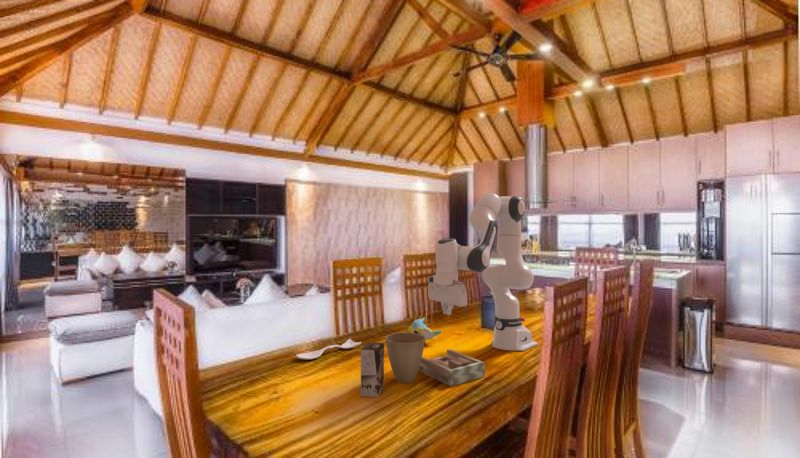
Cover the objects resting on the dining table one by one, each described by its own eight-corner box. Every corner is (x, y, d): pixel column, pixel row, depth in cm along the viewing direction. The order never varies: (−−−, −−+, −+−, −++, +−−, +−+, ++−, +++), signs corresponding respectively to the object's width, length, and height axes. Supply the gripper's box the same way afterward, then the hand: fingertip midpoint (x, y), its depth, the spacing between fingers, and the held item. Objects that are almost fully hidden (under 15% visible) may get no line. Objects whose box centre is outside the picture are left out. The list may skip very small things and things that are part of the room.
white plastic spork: (362, 348, 198) (361, 341, 198) (303, 364, 175) (303, 356, 175) (350, 344, 204) (350, 337, 204) (292, 359, 182) (292, 351, 182)
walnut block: (460, 367, 162) (460, 357, 162) (470, 371, 157) (470, 361, 157) (448, 370, 159) (448, 360, 159) (458, 375, 154) (458, 364, 154)
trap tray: (447, 361, 177) (447, 348, 177) (484, 376, 159) (484, 362, 159) (415, 369, 168) (415, 355, 168) (450, 386, 150) (450, 371, 150)
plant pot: (397, 390, 147) (396, 345, 147) (379, 376, 160) (379, 335, 160) (432, 382, 154) (432, 339, 153) (413, 370, 167) (413, 330, 167)
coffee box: (378, 397, 140) (378, 350, 140) (360, 396, 142) (359, 349, 141) (385, 387, 149) (384, 342, 149) (367, 386, 150) (367, 341, 150)
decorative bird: (413, 346, 199) (413, 327, 199) (400, 331, 229) (400, 314, 229) (441, 345, 202) (441, 326, 202) (424, 329, 231) (424, 313, 231)
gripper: (471, 281, 158) (471, 317, 158) (437, 276, 175) (437, 308, 175) (458, 283, 154) (459, 320, 154) (425, 277, 171) (425, 310, 171)
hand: (447, 314), depth 165 cm, fingers closed
